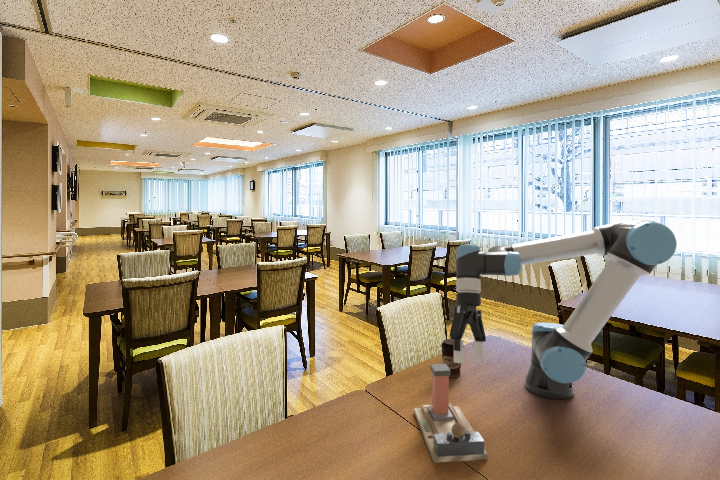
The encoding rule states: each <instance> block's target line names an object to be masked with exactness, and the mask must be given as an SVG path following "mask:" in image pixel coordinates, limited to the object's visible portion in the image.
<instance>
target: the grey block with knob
mask: <svg viewBox="0 0 720 480" xmlns="http://www.w3.org/2000/svg"><path fill="white" fill-rule="evenodd" d="M433 447H434V449H435V452H436V454H437V457H443V456H460V455H477V454H484V448H485V440H484V438H483V437H482V435H481V434H480V432H479V431H474V432H469V431H466V434H465V436H464V437H459V438H456V437H454V436H453V434H452V433H451V432H447V433H444V434H433Z"/></svg>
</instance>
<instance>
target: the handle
mask: <svg viewBox="0 0 720 480" xmlns="http://www.w3.org/2000/svg"><path fill="white" fill-rule="evenodd" d="M429 364H430V363H429ZM429 366H430V367H429V368H430V369H429V370H430V371H431V404H426V405H424V408H427V409H428V411H429V413H430V415H431V417H432V419H433V421H440V420H453V415H452V413H451V412H450V410H449V408H448V405H449V403H450V402H449V399H450V398H449V395H450V392H449V391H450V390H449V388H450V387H449V386H450V385H449V384H450V377H449V376H451V370H450V369H449V367H448V366H447V365H446V364H443V363H433V364H432V363H431V364H430V365H429Z"/></svg>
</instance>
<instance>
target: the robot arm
mask: <svg viewBox="0 0 720 480" xmlns="http://www.w3.org/2000/svg"><path fill="white" fill-rule="evenodd" d="M675 236H676V235H675V234H674V231H672V230H671V229H670V228H669V227H668V226H666V225H665V224H663V223H660V222H656V221H654V220H640V219H624V220H621V221H617V222H612V223H610V224H609V223H608V224H604V225H599V226H595V227H593V229H592V230H590V231H584V232H578V233H573V234H572V233H571V234H567V235H566V234H565V235H560V236H559V235H558V236H554V237H548V238H543V239H537V240H536V239H535V240H531V241H526V242H525V241H524V242H519V243H514V244H509V245H502V246H501V245H495V246H492V247H490V248H489V249H488V250H487V251H482V250H481V247H480V246H479V245H478V244H471V243H469V244H468V243H467V244H461V245H459V246H458V247H457V248H456V255H455V256H456V258H455V259H456V260H455V262H456V263H455V268H456V269H455V270H456V271H455V272H456V277H455V278H456V283H455V287H456V292H457V293H456V294H455V299H456V301H455V303H456V304H455V306H454V313H453V319H452V322H451V328H450V331H449V339H454V362H455V363H461V364H464V348H463V345H464V339H463V337H464V334H465V331H466V328H467V326H468V325H469V327H470V330H471V333H472V336H473V338H474V340H473V363H475V364H476V363H479V364H483V363H484V361H483V360H484V359H483V358H484V356H483V354H484V353H483V352H484V351H483V348H484V345H483V343H484V342H485V343H486V342H487V337H486V332H485V327H484V323H483V317H482V311H481V309H477V307H480V306H481V305H482V299H481V298H482V295H481V292H482V287H481V286H482V285H481V281H482V280H481V276H507V277H510V276H518V275H520V274H521V271H522V270H521V268H522V266H524V265H530V264H537V263H538V264H539V263H543V262H550V261H556V260H564V259H570V258H575V257H583V256H590V255H598V256H601V257H604V256H607V258H608V261H607V263H606V265H605V266H604V268H603V269H602V270H601V272H600V273H599V274H598V275H597V277H596V279H595V280H594V281H593V283H592V284H591V286H590V287H589V289H588V290H587V291H586V293H585V294H584V296H583V297H582V298H581V300H580V301H579V303H578V304H577V306H576V307H575V309H574V310H573V312H571V314H570V315H569V318H568V319H567V320H566V322H565V323H564V324H562V323H561V324H560V323H555V322H554V323H553V322H535V323H534V324H533V325H532V329H531V353H530V354H531V355H530V356H531V357H530V359H531V360H530V366H529V368H528V371H527V373H526V376H525V379H524V386H525V388H526V389H527V390H528V391H529V392H531V393H533V394H535V395H538V396H540V397H543V398H547V399H552V400H565V399H568V398H571V397H572V396H573V395H574V384H573V383H575V382H578V381H579V380H581V379H582V378H583V377H584V375H585V373H586V370H587V363H586V362H587V360H588V358H590V356H591V355H592V354H593V351H594V350H593V348H592V342H593V341H594V340H595V338H596V337H597V336H598V335H599V334H600V332H601V330H602V329H603V328H604V327H605V325H606V324H607V322H608V320H610V319H611V317H612V316H613V314H614V313H615V311H616V310H617V309H618V307H620V304H621V303H622V301H624V299H625V298H626V296H627V295H628V293H629V292H630V291H631V290H632V288H633V287H634V285H635V284H636V283H637V281H638V280H639V279H640V277H643V276H649V275H650V274H651V273H652V271H653V270H655V268H656V266H657V265H661V264H663V263H666V262H667V261H669V260H670V259H671V258H672V257H673V256H674V255H675V253H676V250H677V242H678V241H677V238H676V237H675Z"/></svg>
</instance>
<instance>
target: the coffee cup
mask: <svg viewBox="0 0 720 480" xmlns="http://www.w3.org/2000/svg"><path fill="white" fill-rule="evenodd" d="M440 347H441V357H442V364H446V365H447V366H448V367H449V369H450V370H451V376H449V378H458V377H460V376H461V373H462V372H461V366H462V363H455V362H454V339H450V338H446V339H443V341H442V343H441V345H440ZM464 348H465V347H464V344H463V349H464Z"/></svg>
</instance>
